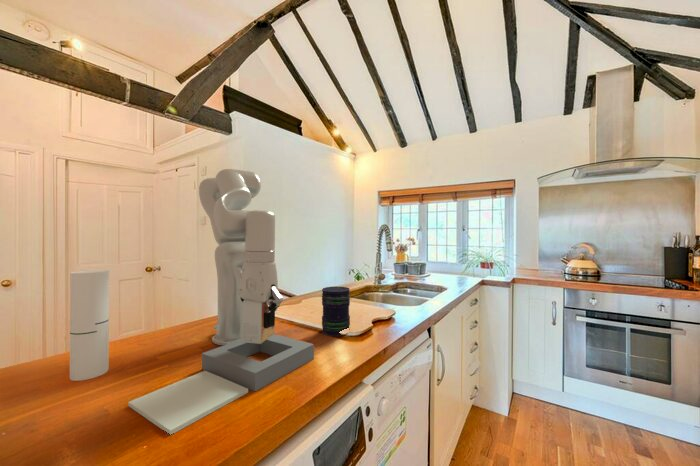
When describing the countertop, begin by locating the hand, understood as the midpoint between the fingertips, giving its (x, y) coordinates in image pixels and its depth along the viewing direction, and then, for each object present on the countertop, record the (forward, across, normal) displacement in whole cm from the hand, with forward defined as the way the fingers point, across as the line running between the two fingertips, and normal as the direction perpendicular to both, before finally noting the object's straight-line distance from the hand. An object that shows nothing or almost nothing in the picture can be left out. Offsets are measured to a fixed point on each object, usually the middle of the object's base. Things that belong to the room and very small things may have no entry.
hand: (259, 323), depth 78 cm
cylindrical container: (+11, -30, -26) cm, 41 cm away
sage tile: (+10, +2, -19) cm, 22 cm away
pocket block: (+10, +1, 0) cm, 10 cm away
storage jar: (+11, +3, +32) cm, 34 cm away
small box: (+4, 0, 0) cm, 4 cm away
